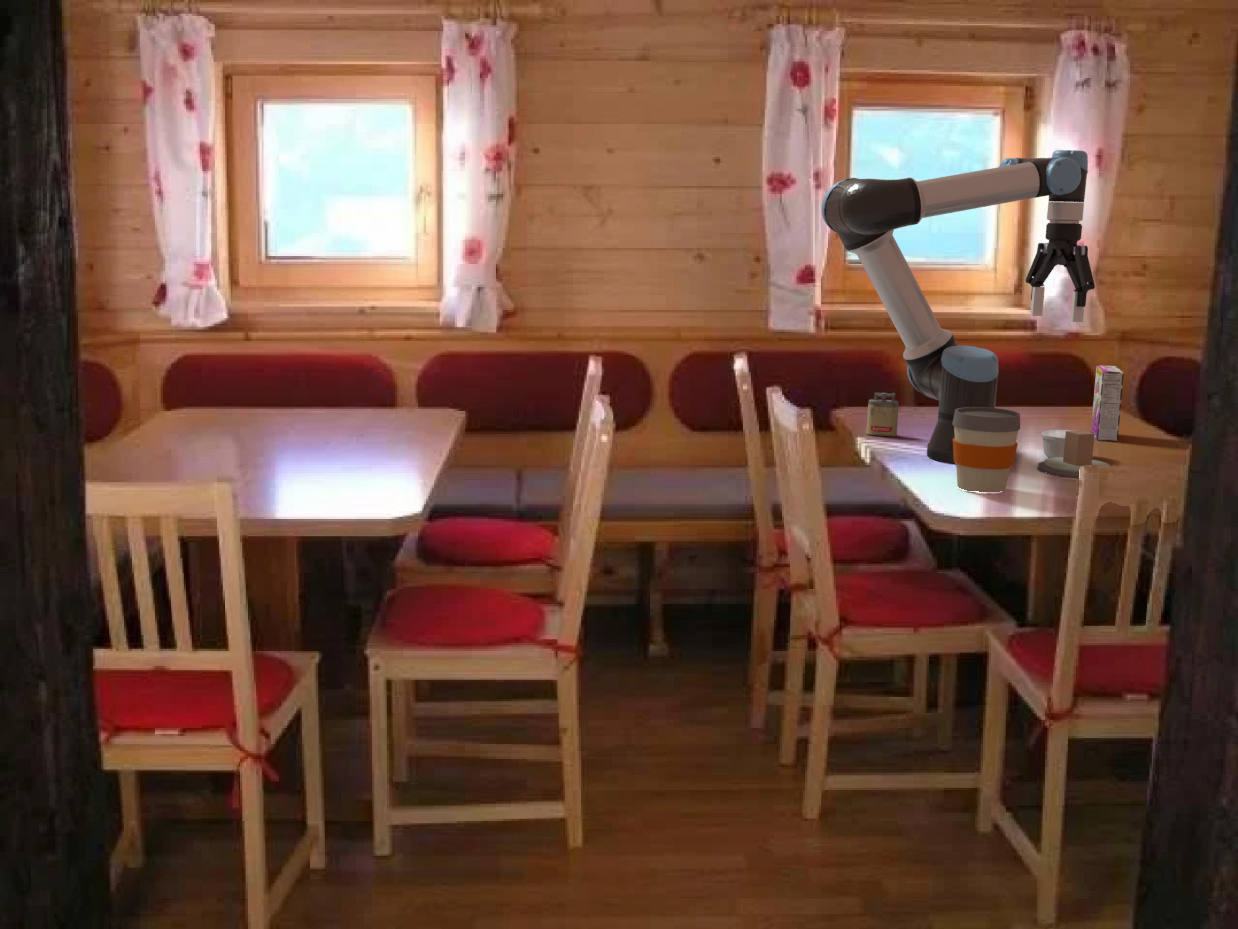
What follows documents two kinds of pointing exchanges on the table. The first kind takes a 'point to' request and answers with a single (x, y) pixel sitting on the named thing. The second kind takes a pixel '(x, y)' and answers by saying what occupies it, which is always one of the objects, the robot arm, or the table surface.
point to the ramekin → (1055, 442)
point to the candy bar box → (1107, 403)
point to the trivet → (1056, 471)
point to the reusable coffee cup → (984, 447)
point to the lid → (1075, 453)
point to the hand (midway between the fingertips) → (1056, 318)
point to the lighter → (882, 415)
